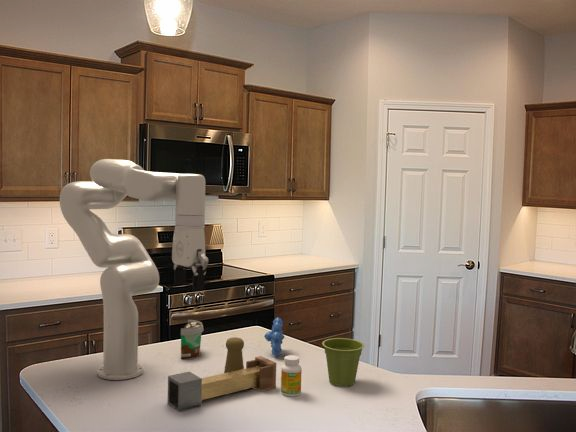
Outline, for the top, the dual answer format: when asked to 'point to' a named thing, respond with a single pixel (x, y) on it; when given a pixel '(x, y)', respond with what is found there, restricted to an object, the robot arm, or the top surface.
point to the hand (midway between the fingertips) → (188, 287)
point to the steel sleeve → (184, 391)
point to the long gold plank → (230, 382)
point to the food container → (191, 339)
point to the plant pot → (342, 360)
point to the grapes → (275, 336)
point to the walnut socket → (264, 373)
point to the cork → (234, 354)
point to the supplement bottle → (291, 376)
